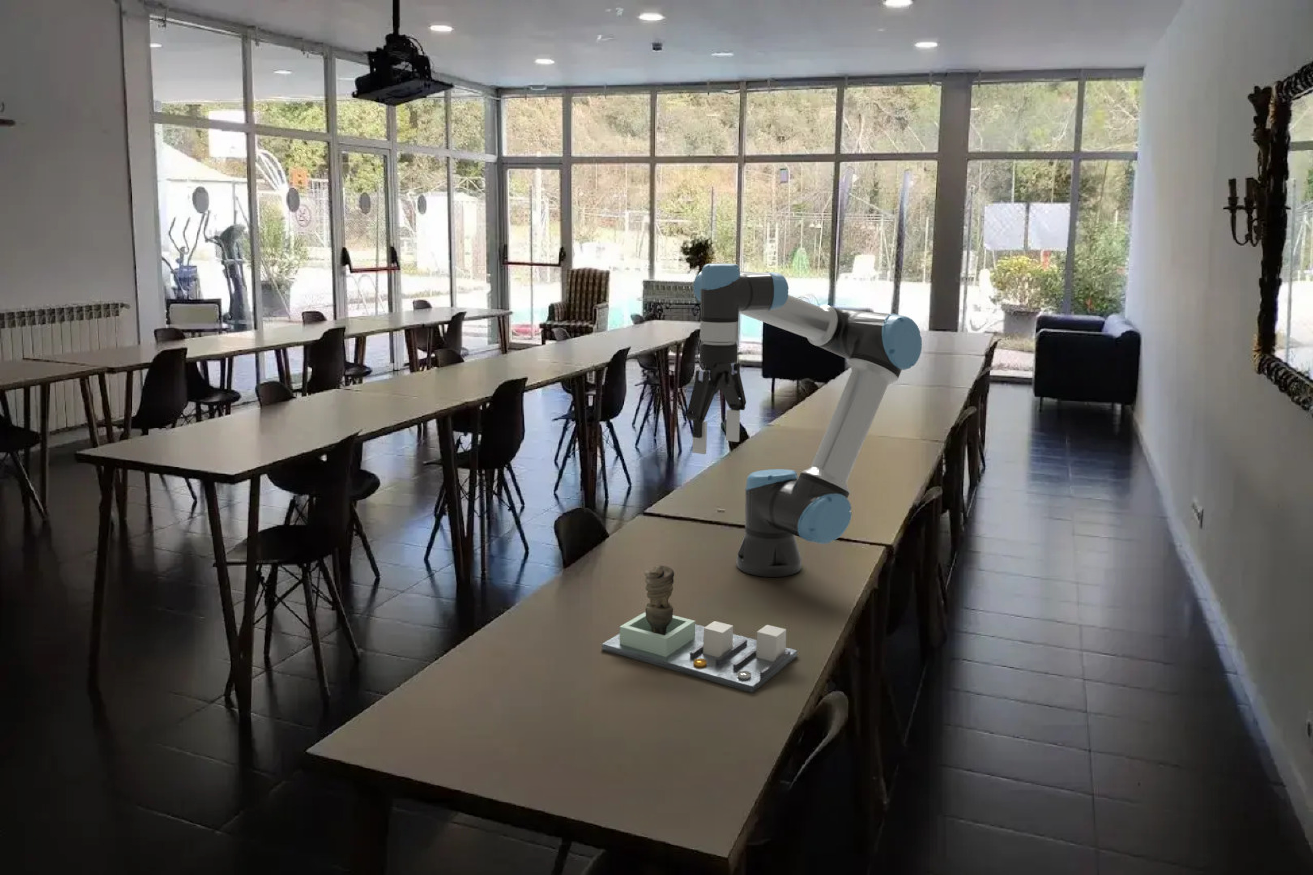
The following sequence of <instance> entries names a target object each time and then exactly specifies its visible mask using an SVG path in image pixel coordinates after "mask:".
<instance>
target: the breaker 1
mask: <svg viewBox="0 0 1313 875" xmlns="http://www.w3.org/2000/svg"><path fill="white" fill-rule="evenodd" d="M733 634H734V625H733V624H728V623H724V622H721V621H715V620H714V621H712V622H711V623H709V624H708V625H706V626H704V638H703V653H704V654H708V655H712V656H715V657H720V656H721V655H723V654H724V653H726V652H727V651H728V650H730V649H731V648H733Z"/></svg>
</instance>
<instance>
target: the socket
mask: <svg viewBox="0 0 1313 875" xmlns="http://www.w3.org/2000/svg"><path fill="white" fill-rule="evenodd" d="M695 624H696V620H693V619H689V618H686V617H682V616H678V615H674V614H673V618H672V621H671V622H670V624H669V625H668V626H667V629H666V633H667V634H666V635H661V634H657V633H653V632H649V631H650V630H651V626H650V624H649V623H648V621H647V620H646V611H644V612H643V613H641V614H639V615H638V616H635V617H633V618H632V619H630V620H628V621H627V622H625V623H624V624H621V625H620V626H619V634H620V644H622V645H625V646H629V647H632V648H636V649H640V650H643V651H647V652H650V653H654V654H657V655H661V656H665V657H667V656H668V655H670V654H671V653H673V652H674V651H676V650H677V649H679V648H680V647H682V646H684V645H685V644H687V643H688V642H690V641H691V640H693V639H694V638H695Z"/></svg>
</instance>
